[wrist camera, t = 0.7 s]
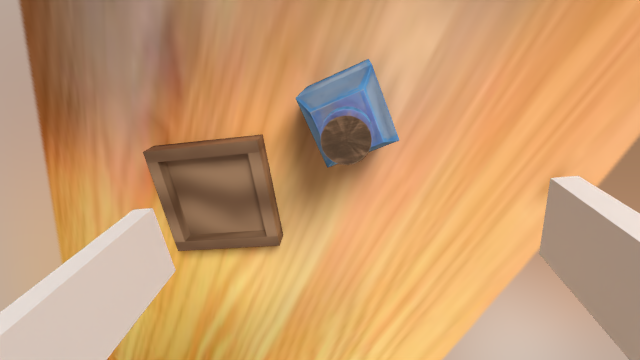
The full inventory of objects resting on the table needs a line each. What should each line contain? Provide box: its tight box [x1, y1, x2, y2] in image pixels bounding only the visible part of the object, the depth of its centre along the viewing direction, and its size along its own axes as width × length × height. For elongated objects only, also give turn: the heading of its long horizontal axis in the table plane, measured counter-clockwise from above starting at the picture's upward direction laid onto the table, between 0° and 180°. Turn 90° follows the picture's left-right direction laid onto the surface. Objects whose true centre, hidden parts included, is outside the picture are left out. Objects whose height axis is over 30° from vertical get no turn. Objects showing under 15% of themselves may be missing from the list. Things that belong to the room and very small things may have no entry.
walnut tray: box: [143, 135, 283, 251], centre depth 35 cm, size 12×12×2 cm
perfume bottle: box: [296, 59, 399, 168], centre depth 26 cm, size 6×6×12 cm
